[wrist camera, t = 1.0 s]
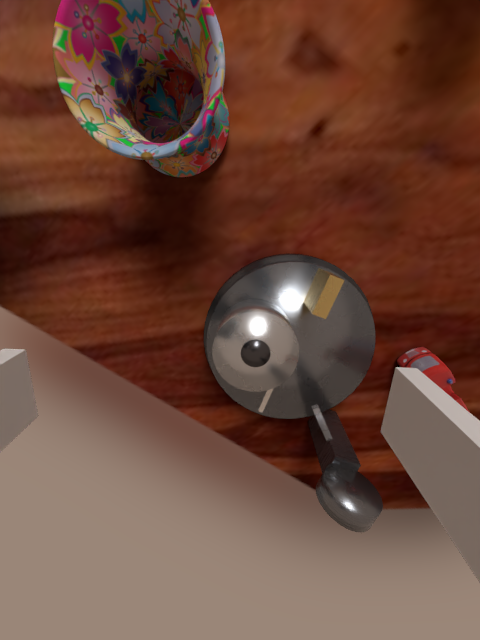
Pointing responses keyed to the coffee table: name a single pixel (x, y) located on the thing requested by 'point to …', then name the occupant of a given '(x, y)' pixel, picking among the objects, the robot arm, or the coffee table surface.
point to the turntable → (305, 336)
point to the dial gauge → (342, 475)
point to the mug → (145, 79)
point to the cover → (255, 346)
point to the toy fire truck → (430, 369)
